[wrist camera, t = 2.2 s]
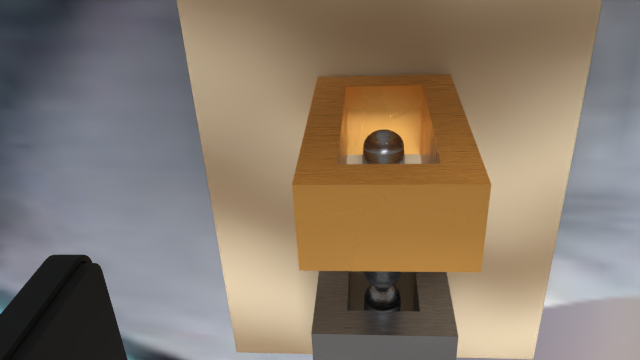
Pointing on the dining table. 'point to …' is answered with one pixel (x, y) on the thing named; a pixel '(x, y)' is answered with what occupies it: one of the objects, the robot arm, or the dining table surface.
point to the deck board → (486, 125)
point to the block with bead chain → (389, 182)
